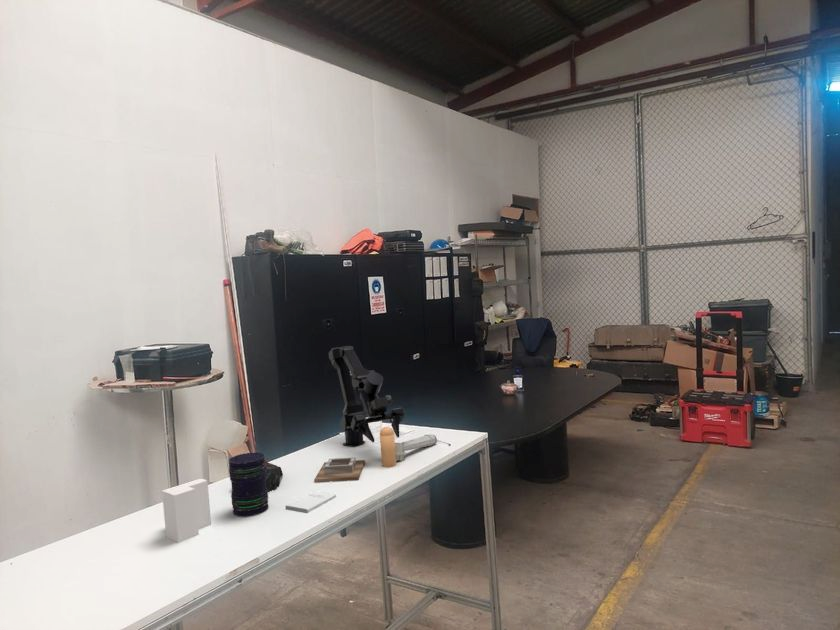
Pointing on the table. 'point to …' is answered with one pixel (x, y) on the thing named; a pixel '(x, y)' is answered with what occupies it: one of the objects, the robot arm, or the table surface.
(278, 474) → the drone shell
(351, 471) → the jig
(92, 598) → the table surface
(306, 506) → the external hard drive
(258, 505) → the storage jar
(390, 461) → the ball
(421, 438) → the grey cylindrical tool
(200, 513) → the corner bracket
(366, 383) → the robot arm
